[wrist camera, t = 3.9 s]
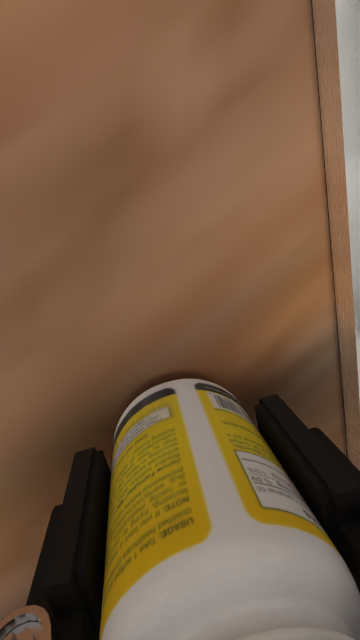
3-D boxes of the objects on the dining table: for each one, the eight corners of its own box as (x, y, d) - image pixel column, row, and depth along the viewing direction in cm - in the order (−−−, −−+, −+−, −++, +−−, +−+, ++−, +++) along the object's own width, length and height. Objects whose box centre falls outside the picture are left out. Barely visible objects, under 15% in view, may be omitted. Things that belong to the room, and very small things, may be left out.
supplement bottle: (116, 498, 12) (89, 1079, 4) (109, 379, 10) (41, 863, 2) (244, 484, 12) (452, 946, 4) (251, 370, 11) (562, 726, 3)
